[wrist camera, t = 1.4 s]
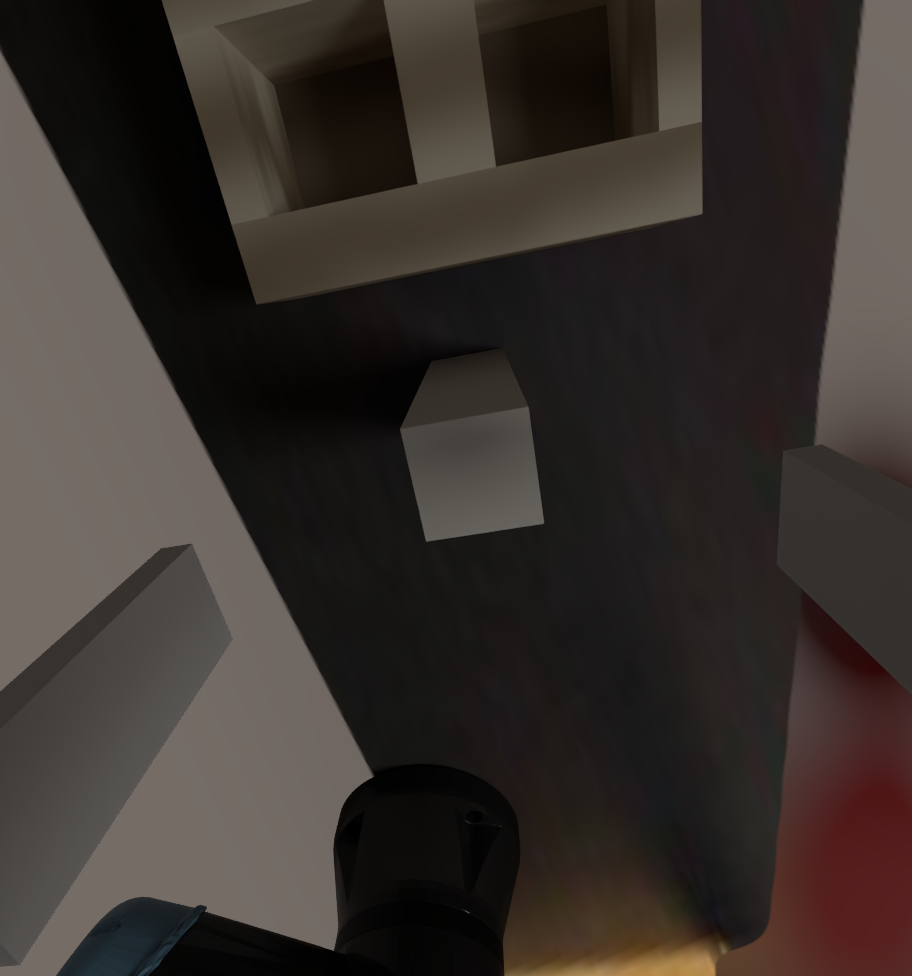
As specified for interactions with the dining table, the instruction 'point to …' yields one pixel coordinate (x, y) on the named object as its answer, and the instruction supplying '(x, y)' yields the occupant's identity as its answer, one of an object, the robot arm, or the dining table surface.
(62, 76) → the dining table surface
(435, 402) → the plug
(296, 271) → the socket board
